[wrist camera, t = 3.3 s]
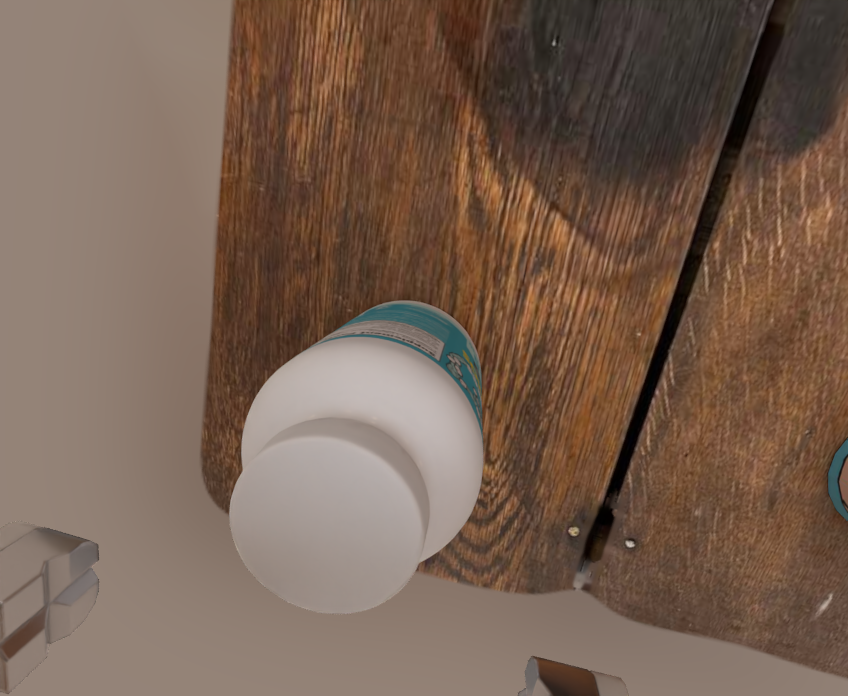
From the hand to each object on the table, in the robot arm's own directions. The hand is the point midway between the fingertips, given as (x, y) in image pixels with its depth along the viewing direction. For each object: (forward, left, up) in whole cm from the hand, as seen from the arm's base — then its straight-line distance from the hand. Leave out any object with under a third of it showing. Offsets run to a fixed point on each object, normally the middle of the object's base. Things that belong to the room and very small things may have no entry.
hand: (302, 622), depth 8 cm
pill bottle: (0, 0, -16) cm, 16 cm away
